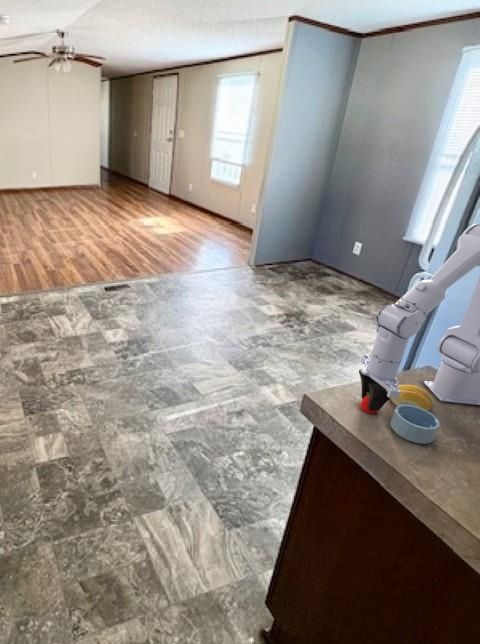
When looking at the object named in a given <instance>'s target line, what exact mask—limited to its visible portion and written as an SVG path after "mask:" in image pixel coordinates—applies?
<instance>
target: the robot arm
mask: <svg viewBox="0 0 480 644" xmlns="http://www.w3.org/2000/svg"><path fill="white" fill-rule="evenodd" d="M476 267H480V223H474V224H472V225H470V226H468V227H467V228H466V229H465V230H464V231H463V232H462V233H461V235H460V236H459V237H458V239H457V243H456V250H455V251H453V253H452V254H451V256H449V258H447V259H446V261H445V262H444V263H443V264H442V265H441V266H440V267H439V269H438V270H437V271H435V272H434V274H432V276H431V277H430V278H429V279H425V280H424V279H423V280H419V281H418V282H416V283H415V284H414V285H413V286H412V287H411V288H410V289H409V290H407V292H406V293H405V294H403V295H402V297H400V298H399V299H398V300H397V301H396V302H395V303H391V304H387V305H385V306H383V307H382V308H381V309H379V311H378V312H377V314H376V315H375V324H376V328H375V331H376V336H375V341H374V344H373V347H372V350H371V353H370V355H368V354H363V355H362V357H361V360H360V362H361V363H362V364H363V365H364V367H361V368H360V369H359V370H358V375H359V377H360V384H361V399H362V400H363V399H364V397H365V396H366V395H367V392H368V393H370V399H369V405H368V407H369V410H373V411H377V412H380V410H381V409H382V408H383V406H384V405H385V404H386V403H387V402H388V401H389V400H391V398H395V399H399V396H400V394H401V391H400V390H399V387H398V386H399V383H398V377H397V374H398V371H399V368H400V365H401V363H402V360H403V357H404V354H405V351H406V348H407V346H408V343H409V339H410V338H411V337H414V336H415V335H416V334H417V333H418V332H419V331H420V330H421V328H422V326H423V323H425V321H426V319H427V317H426V316H427V315H428V314H430V313H431V312H432V311H433V310H434V309H435V308H436V307H437V306H438V305H439V304H440V303H442V302H443V301H444V300H445V299H446V290H448V289H449V288H450V287H452V286H453V285H454V284H455V283H456V282H458V281H459V280H460V279H462V278H463V277H464V276H466V275H467V274H468V273H470V272H471V271H472V270H474V269H475V268H476ZM437 351H438V352H439V354H440V356H439V358H441V359H442V360H441V362H440V365H439V367H438V369H437V372H436V375H435V376H434V380H433V381H428V380H424V381H423V384H424V385H425V386H426V387H427V388H428V389H429V390H430V391H431V393H432V394H433V395H434V396H435V397H436V398H437V399H438V400H439V401H440V402H446V403H454V404H465V405H474V406H475V405H476V406H480V275H479V276H478V279H477V282H476V284H475V287H474V289H473V291H472V294H471V297H470V299H469V302H468V305H467V307H466V309H465V312H464V315H463V317H462V321H461V322H460V325H454V326H450V327H449V328H447V329H446V331H445V333H444V334H443V336H442V337H441V338H440V340H439V341H438V343H437Z"/></svg>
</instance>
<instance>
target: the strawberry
mask: <svg viewBox="0 0 480 644" xmlns="http://www.w3.org/2000/svg"><path fill="white" fill-rule="evenodd" d="M369 399H370V393H368V392H367V395H366V396H365V397H364V399H362V400H361V403H360V406H359V407H360V409H361V410H362V411H363V412H365V413H367V414H373V415H374V414H377V412H378V411H373V410H369V407H368V405H369Z"/></svg>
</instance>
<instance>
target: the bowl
mask: <svg viewBox="0 0 480 644" xmlns="http://www.w3.org/2000/svg"><path fill="white" fill-rule="evenodd" d="M389 424H390V427H391V429H392V430H393V432H394V433H396V435H398V436H399V437H401V438H402V439H404V440H406V441H409V442H411V443H415V444H423V445H424V444H425V445H426V444H430V443H432V442H434V440H435V437H436V435H437V433H438V431H439V429H440V425H441V422H440V420H439V419H438V418H437V417H436V415H434V414H433V413H432V412H430V411H426V410H424V409H422V408H419V407H416V406H412V405H405V404H404V405H399V406H397V405H396V407H395V409H394V411H393V413H392V417H391V419H390V423H389Z"/></svg>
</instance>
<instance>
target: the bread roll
mask: <svg viewBox="0 0 480 644" xmlns="http://www.w3.org/2000/svg"><path fill="white" fill-rule="evenodd" d="M398 387H399V390H400V391H401V394H400V396H399V399H395V398H391V399H390V401H391V402H392V403H393V404H394V405H395V406H396V407H397V406H399V405H404V404H405V405H412V406H416V407H419V408H422V409H424V410H426V411H428V412H430V410H431V406H432V404H433V399H432V397H431V396H430V394H429V393H428V392H427V391H426V390H424V389H423V388H421V387H419V386H416V385H414V384H398Z"/></svg>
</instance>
